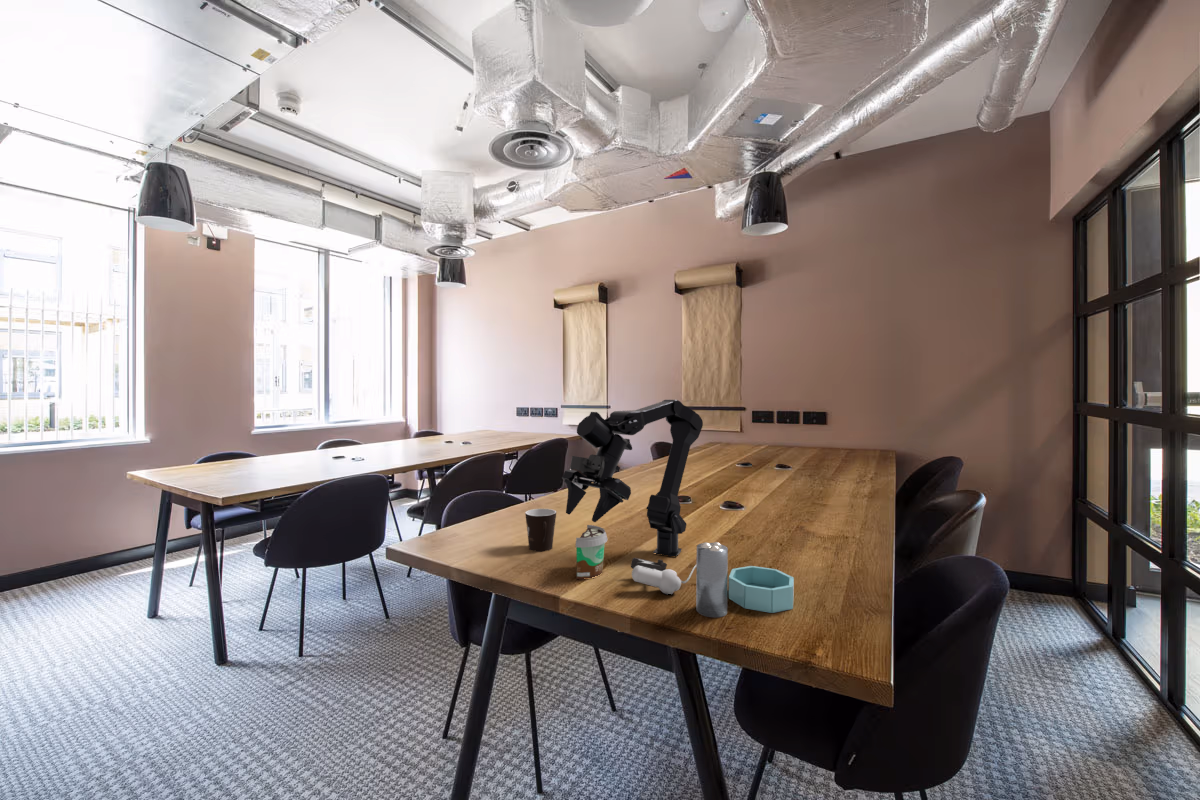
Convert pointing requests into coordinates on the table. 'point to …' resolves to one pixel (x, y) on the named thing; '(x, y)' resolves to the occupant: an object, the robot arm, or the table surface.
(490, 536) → the table surface
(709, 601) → the steel cylinder with balls
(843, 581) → the table surface
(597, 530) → the food container
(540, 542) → the coffee mug
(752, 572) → the bowl
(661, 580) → the clip-on lamp
